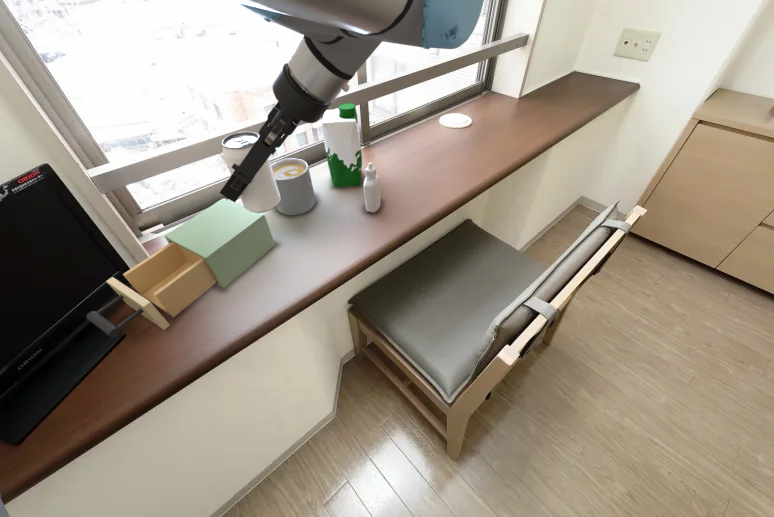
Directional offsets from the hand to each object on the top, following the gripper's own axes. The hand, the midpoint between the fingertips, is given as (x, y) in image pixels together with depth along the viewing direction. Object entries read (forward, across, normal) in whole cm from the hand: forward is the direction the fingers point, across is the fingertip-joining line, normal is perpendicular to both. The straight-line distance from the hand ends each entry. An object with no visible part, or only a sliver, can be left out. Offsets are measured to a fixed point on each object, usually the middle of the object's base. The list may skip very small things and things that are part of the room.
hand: (236, 184), depth 59 cm
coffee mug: (+14, +22, -13) cm, 30 cm away
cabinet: (+20, +2, -7) cm, 21 cm away
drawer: (+24, -12, -2) cm, 27 cm away
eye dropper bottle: (-1, +21, -28) cm, 35 cm away
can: (0, 0, -5) cm, 5 cm away
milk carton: (+5, +33, -22) cm, 40 cm away
